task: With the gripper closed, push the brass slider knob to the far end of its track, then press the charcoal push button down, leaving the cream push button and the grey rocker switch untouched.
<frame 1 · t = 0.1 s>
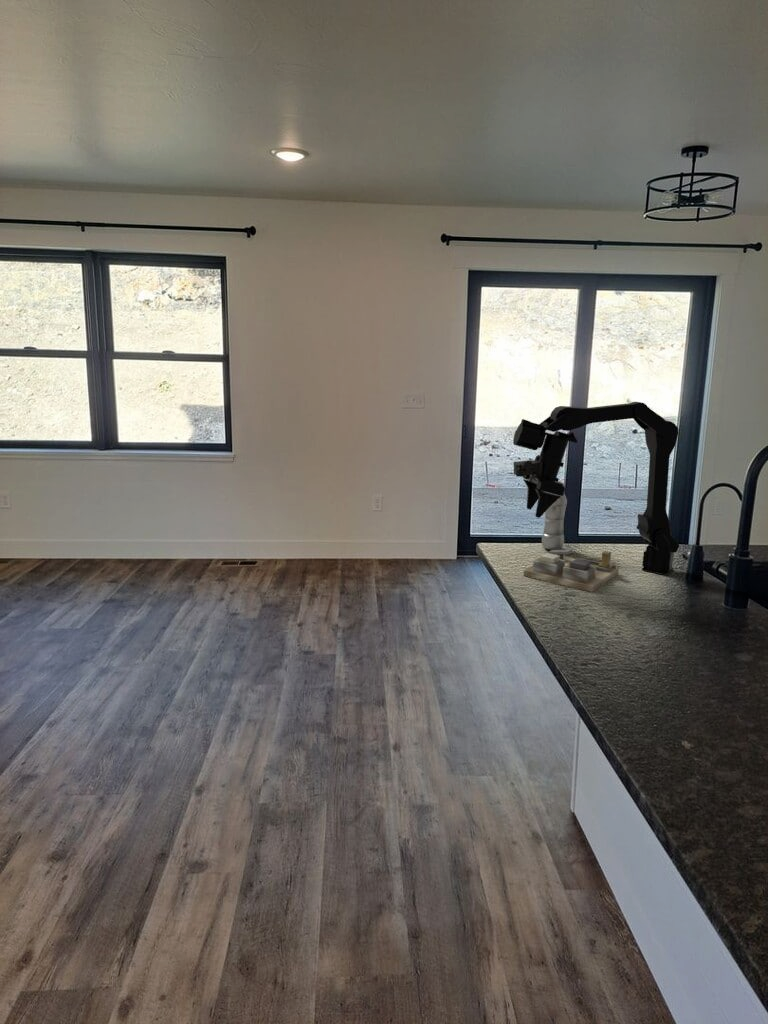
hand: (532, 512, 167), 15 cm above the countertop, tool pointing down, fingers open, 9 cm apart
slider: (605, 560, 166), point 4 cm above the countertop, slide at 0.0 cm
plastic bottle: (552, 549, 189), on the countertop
panel: (571, 574, 166), on the countertop
cream button: (549, 559, 164), point 4 cm above the countertop, slide at 0.0 cm
rocker: (560, 552, 174), point 4 cm above the countertop, hinge at 12.0°
charcoal button: (579, 565, 159), point 4 cm above the countertop, slide at 0.0 cm
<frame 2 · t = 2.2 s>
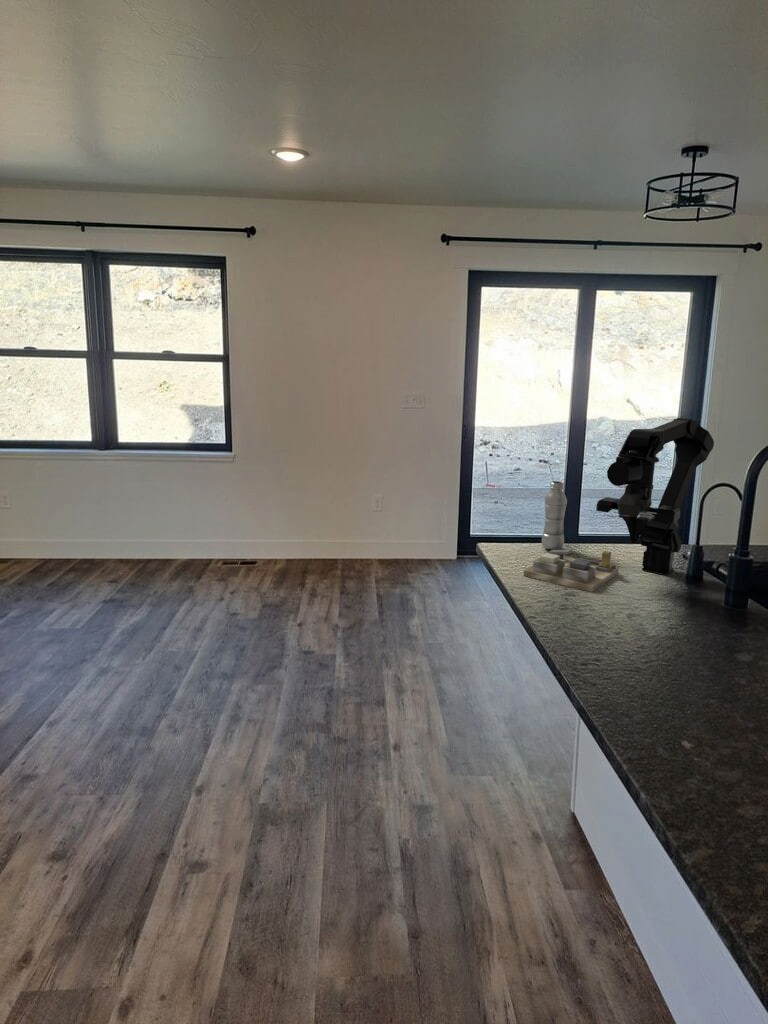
hand: (633, 542, 161), 10 cm above the countertop, tool pointing down, fingers closed
nothing on the countertop moved.
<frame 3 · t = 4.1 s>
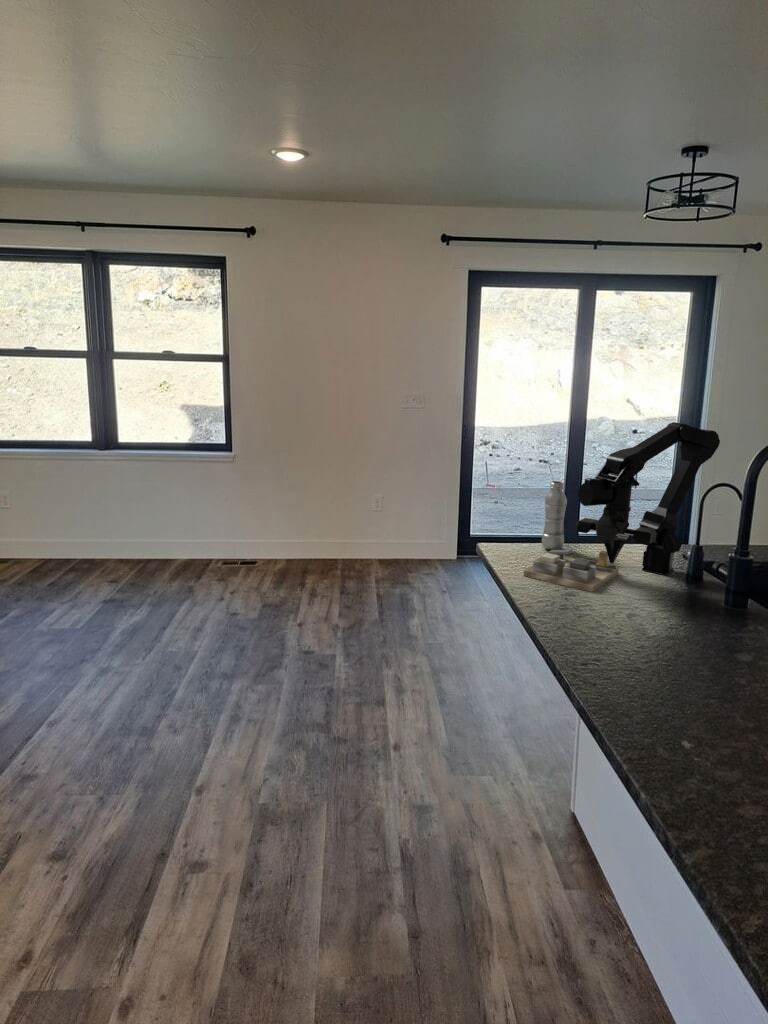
hand: (612, 562, 165), 4 cm above the countertop, tool pointing down, fingers closed
slider: (603, 559, 166), point 4 cm above the countertop, slide at 0.7 cm, touching gripper
everything else where it was.
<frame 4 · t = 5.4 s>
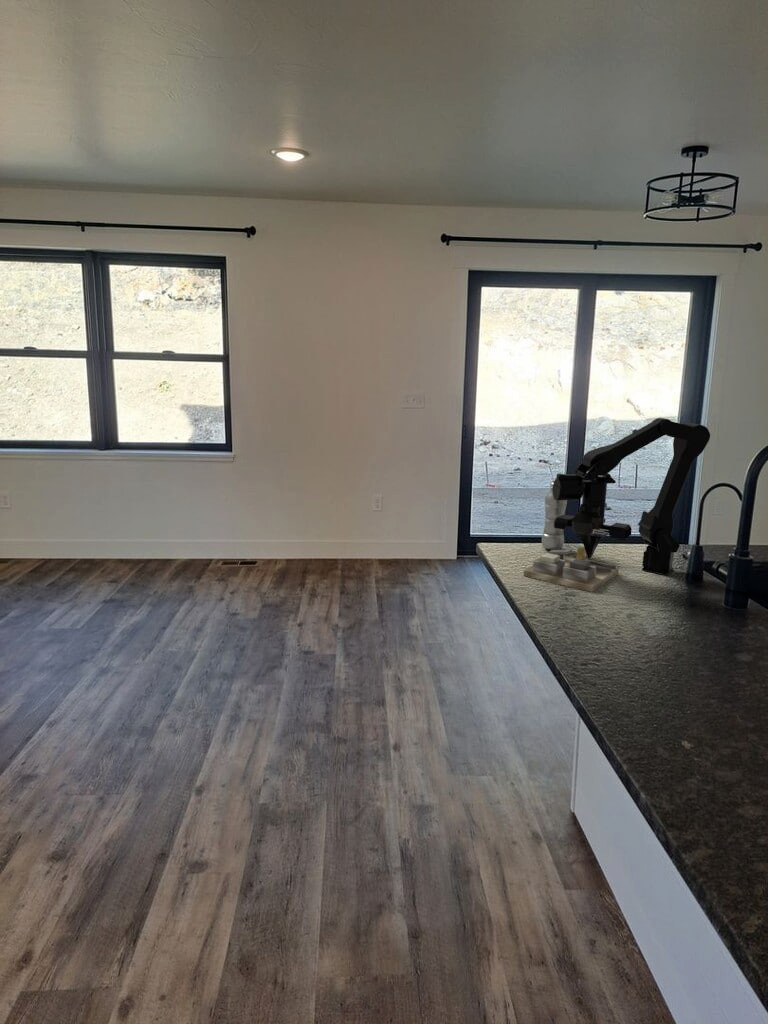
hand: (589, 558, 169), 4 cm above the countertop, tool pointing down, fingers closed
slider: (581, 555, 170), point 4 cm above the countertop, slide at 6.6 cm, touching gripper
everything else where it was.
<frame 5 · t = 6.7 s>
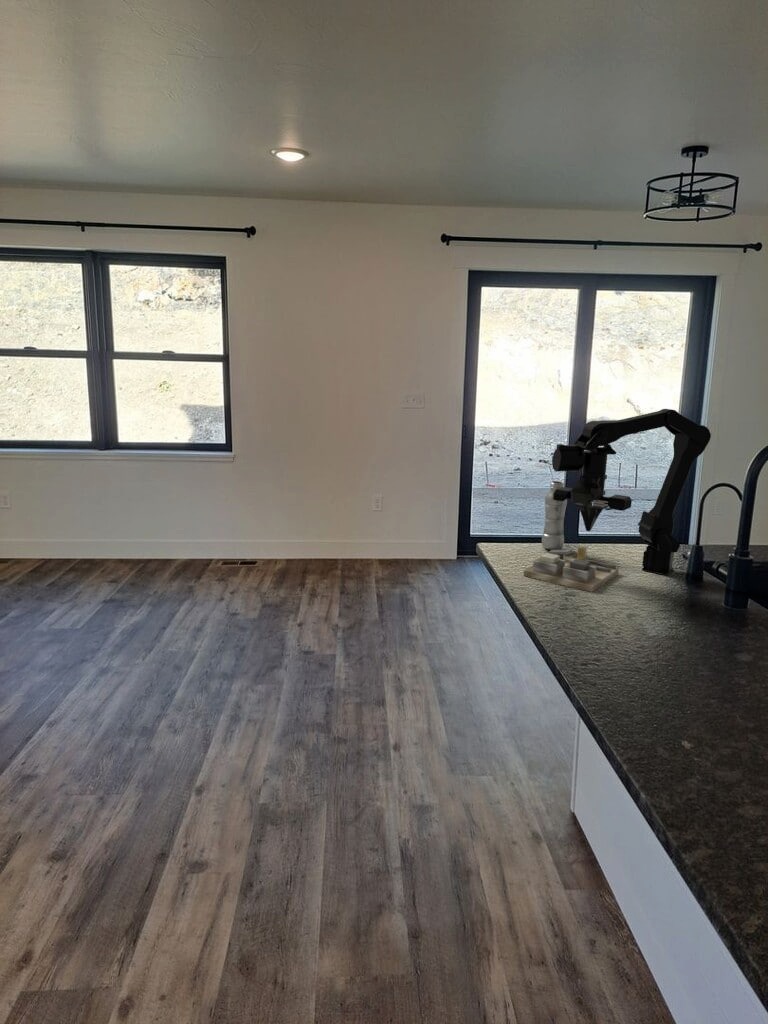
hand: (588, 530, 166), 11 cm above the countertop, tool pointing down, fingers closed
slider: (581, 555, 170), point 4 cm above the countertop, slide at 6.6 cm
everything else where it was.
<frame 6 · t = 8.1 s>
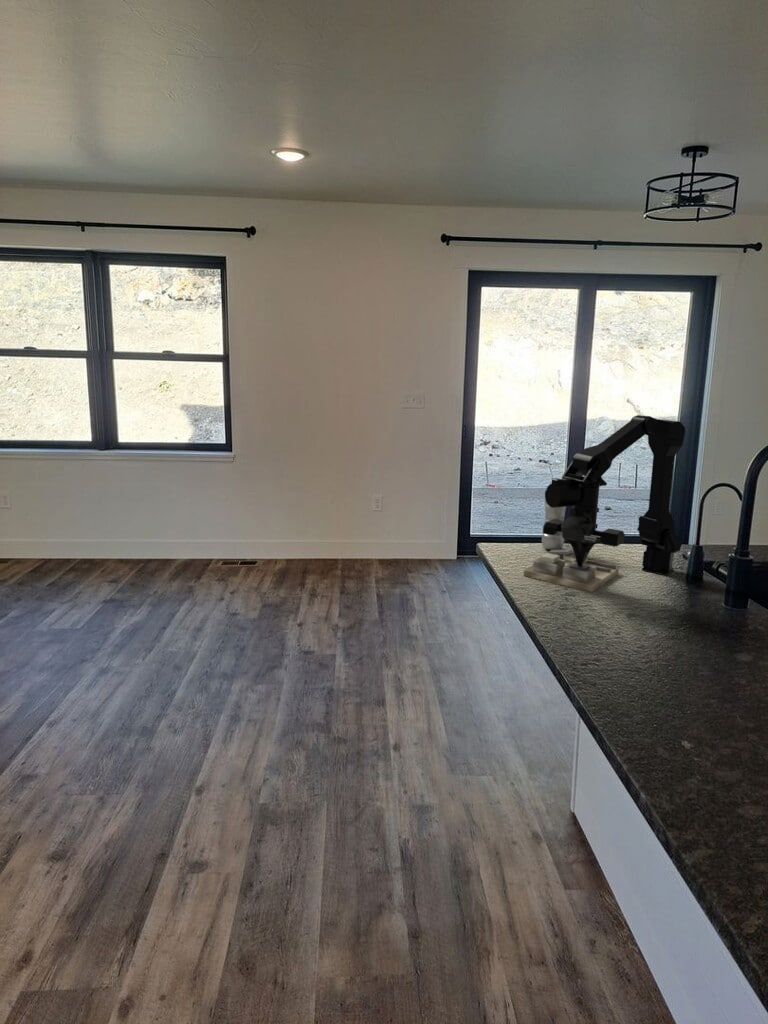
hand: (580, 565, 159), 5 cm above the countertop, tool pointing down, fingers closed, pressing on charcoal button
charcoal button: (579, 569, 159), point 4 cm above the countertop, slide at 1.0 cm, touching gripper
everything else where it was.
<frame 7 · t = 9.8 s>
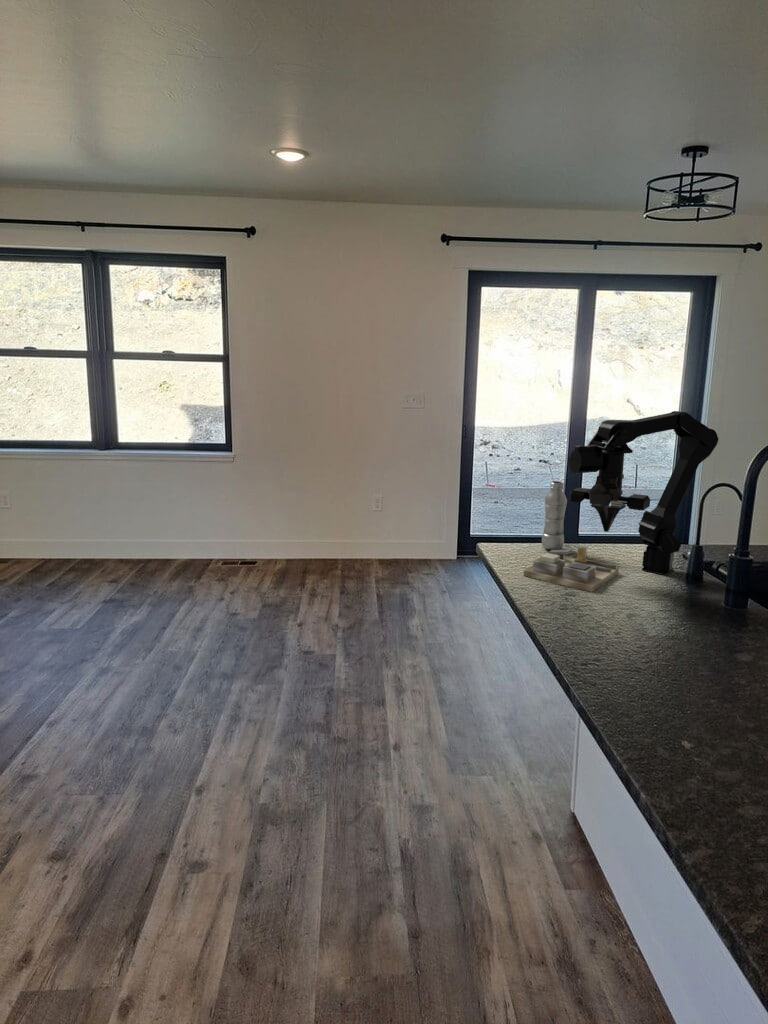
hand: (606, 531, 164), 12 cm above the countertop, tool pointing down, fingers closed
charcoal button: (579, 570, 159), point 3 cm above the countertop, slide at 1.1 cm
everything else where it was.
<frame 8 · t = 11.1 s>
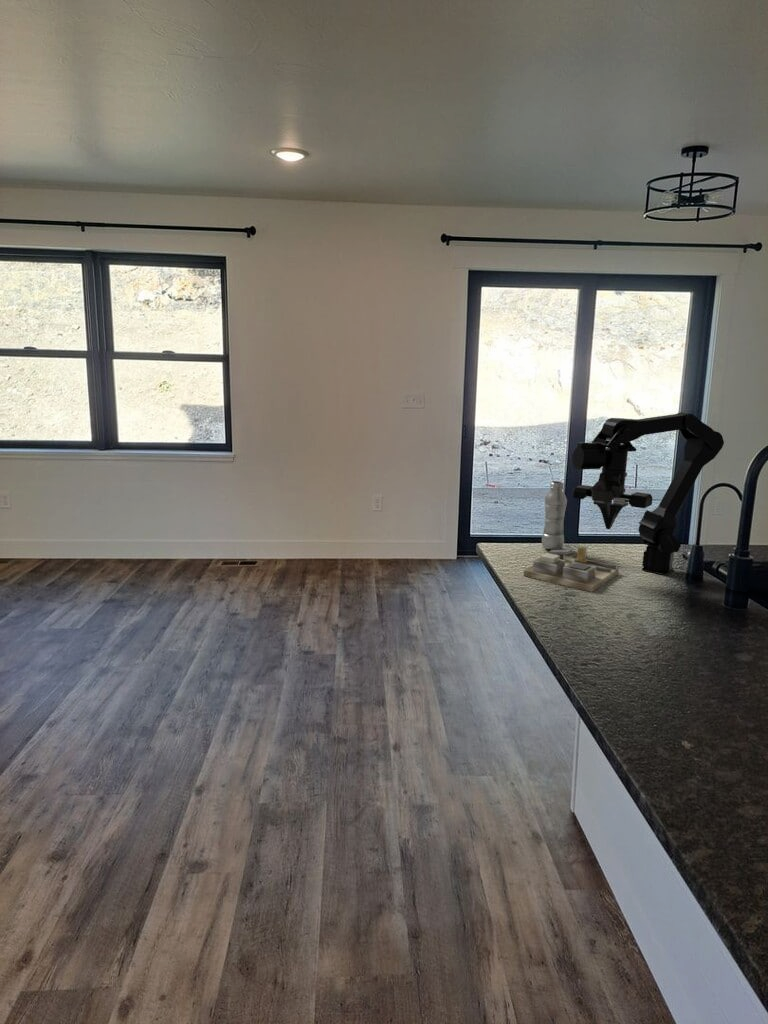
hand: (608, 528, 165), 12 cm above the countertop, tool pointing down, fingers closed
nothing on the countertop moved.
at the end: slider slide at 6.6 cm; charcoal button slide at 1.1 cm; cream button slide at 0.0 cm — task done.
